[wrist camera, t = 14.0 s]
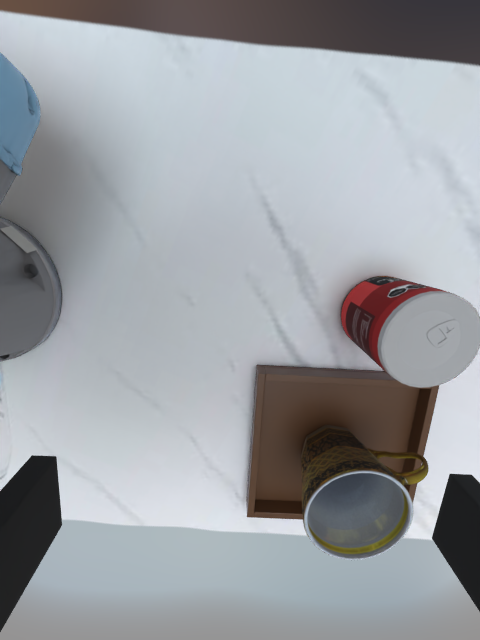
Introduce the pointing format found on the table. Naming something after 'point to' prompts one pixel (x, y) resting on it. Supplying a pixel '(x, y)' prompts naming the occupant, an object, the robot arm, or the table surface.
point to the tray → (328, 409)
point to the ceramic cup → (354, 495)
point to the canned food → (412, 329)
